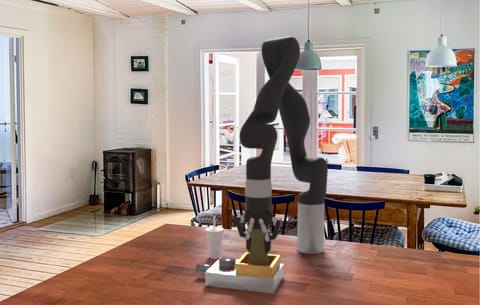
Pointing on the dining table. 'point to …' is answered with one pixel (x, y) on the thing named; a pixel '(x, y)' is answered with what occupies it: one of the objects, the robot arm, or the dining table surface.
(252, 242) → the cork
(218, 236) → the smoothie
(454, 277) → the dining table surface
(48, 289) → the dining table surface
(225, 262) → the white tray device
